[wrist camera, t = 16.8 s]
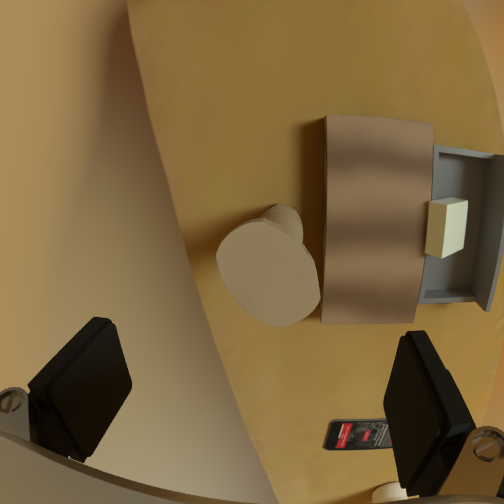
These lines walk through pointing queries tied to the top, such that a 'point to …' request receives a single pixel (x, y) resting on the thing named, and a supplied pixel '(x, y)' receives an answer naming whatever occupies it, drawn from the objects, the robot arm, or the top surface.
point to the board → (374, 218)
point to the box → (468, 228)
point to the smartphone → (358, 434)
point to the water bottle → (389, 493)
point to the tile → (446, 226)
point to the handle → (270, 267)
